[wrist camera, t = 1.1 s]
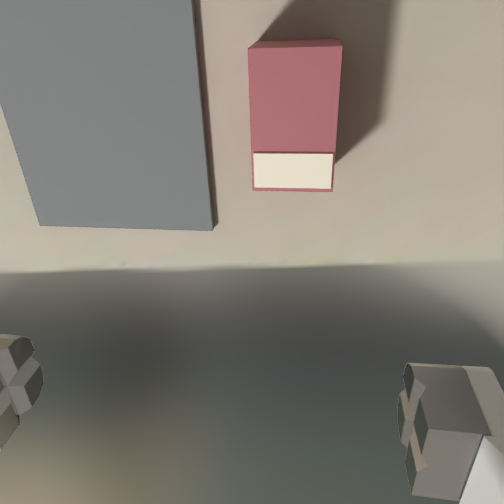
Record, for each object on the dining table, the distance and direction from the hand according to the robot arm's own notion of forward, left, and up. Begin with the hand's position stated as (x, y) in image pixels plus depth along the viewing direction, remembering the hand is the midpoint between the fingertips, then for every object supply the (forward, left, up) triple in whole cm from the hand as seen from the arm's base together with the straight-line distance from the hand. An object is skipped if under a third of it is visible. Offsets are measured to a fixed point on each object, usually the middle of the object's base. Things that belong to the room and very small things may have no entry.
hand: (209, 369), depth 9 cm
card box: (0, +1, -26) cm, 26 cm away
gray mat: (+1, -14, -26) cm, 30 cm away
